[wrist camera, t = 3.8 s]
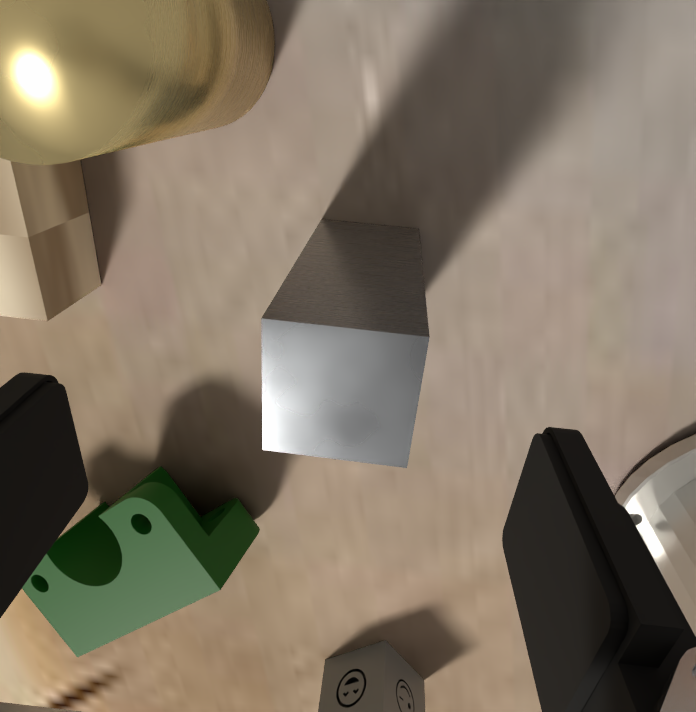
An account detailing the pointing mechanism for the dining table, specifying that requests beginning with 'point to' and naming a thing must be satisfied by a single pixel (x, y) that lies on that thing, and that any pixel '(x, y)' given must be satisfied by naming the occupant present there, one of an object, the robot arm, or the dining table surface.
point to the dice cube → (371, 682)
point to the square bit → (347, 346)
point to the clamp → (137, 562)
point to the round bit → (125, 72)
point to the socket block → (44, 239)
